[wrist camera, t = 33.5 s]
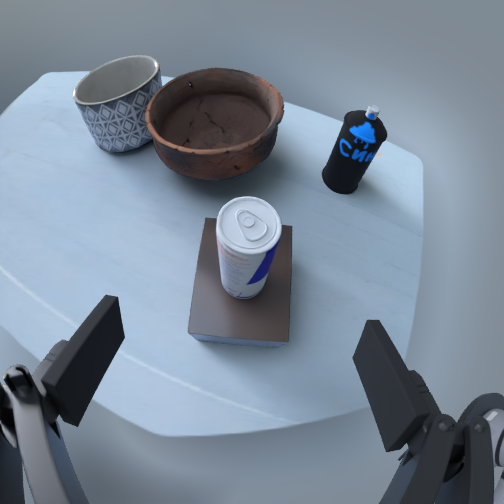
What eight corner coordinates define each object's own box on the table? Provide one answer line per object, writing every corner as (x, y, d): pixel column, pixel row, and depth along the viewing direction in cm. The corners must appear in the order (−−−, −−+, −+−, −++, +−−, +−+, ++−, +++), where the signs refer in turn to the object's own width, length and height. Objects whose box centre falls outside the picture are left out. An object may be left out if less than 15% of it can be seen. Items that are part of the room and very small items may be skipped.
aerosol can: (325, 159, 59) (352, 88, 41) (359, 171, 58) (395, 105, 40) (318, 186, 56) (349, 112, 37) (355, 200, 55) (397, 132, 37)
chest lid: (205, 220, 41) (204, 217, 40) (291, 228, 41) (292, 225, 41) (188, 333, 35) (187, 332, 34) (287, 342, 35) (288, 342, 34)
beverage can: (257, 305, 36) (273, 263, 22) (215, 291, 36) (205, 242, 22) (269, 266, 38) (290, 205, 24) (229, 253, 38) (228, 187, 25)
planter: (117, 172, 55) (92, 116, 39) (84, 136, 59) (62, 89, 44) (185, 125, 61) (177, 67, 46) (143, 97, 65) (132, 49, 50)
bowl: (135, 161, 56) (117, 109, 42) (216, 106, 64) (215, 56, 50) (215, 229, 51) (210, 176, 37) (297, 156, 59) (312, 102, 45)
